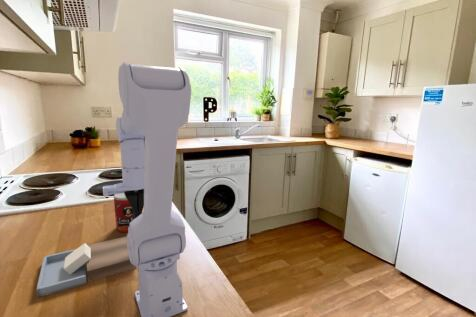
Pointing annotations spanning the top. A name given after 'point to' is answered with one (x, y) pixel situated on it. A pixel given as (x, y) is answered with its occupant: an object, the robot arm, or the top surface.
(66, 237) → the top surface
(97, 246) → the walnut board
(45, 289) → the tray
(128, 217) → the canned food
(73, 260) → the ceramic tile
